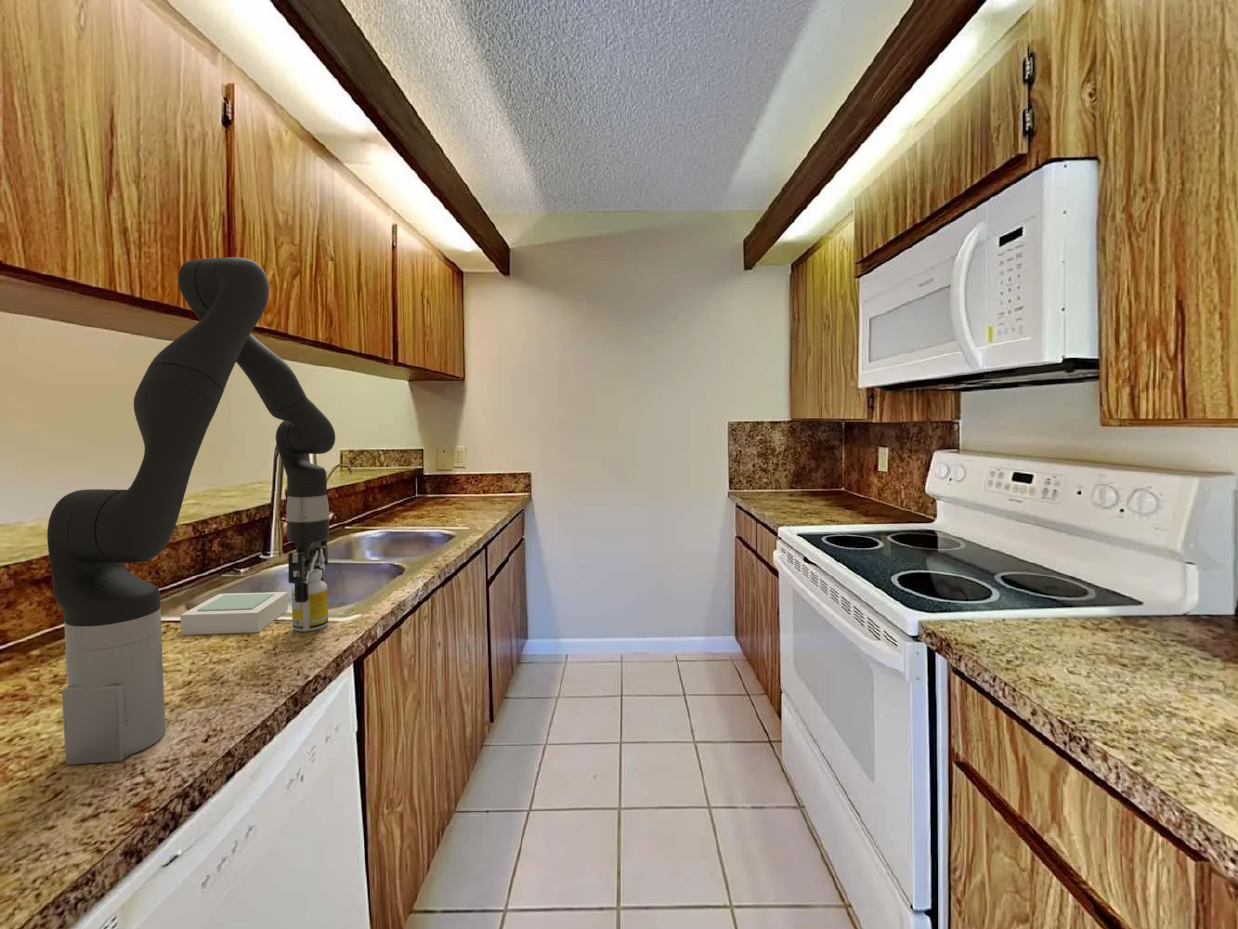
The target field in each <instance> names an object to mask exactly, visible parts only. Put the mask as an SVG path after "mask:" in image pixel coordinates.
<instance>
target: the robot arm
mask: <svg viewBox="0 0 1238 929" xmlns="http://www.w3.org/2000/svg"><path fill="white" fill-rule="evenodd" d="M178 270H179V271H178V275H177V278H178V279H177V280H178V281H177V282H178V285H179V290H180V293H181V295H182V297H183V299H184V301H185V302H186V303H187V305H188V307H189V308H190V309H191V311H192V312H193V313H194V314H195V316H196V317H197V318H198V319H199V321H198V322H197V323H196V324H195V325H193V326H192V327H191V328H189V329H188V330H187V331H186V332H184V333H183V334H181V335H180V336H178V337H177V338H176V339H175V340H173V341H172V342H170V343H169V344H168V345H166V346H165V347H164V348H163V349H162V350H160V352H159V353H158V354H157V355H156V356H155V357H154V358H153V359H152V361H151V362H150V364H149V366H148V367H147V370H146V371H145V373H144V375H143V377H142V379H141V381H140V383H139V385H138V387H137V389H136V392H135V394H134V398H133V411H134V414H135V415H134V416H135V420H136V423H137V426H138V429H139V432H140V435H141V438H142V441H143V444H144V445H143V446H144V454H143V457H142V461H141V464H140V467H139V468H138V472H137V474H136V476H135V478H134V479H133V481H132V484H131V485H130V486H129V487H128V489H110V488H109V489H102V488H101V489H99V488H98V489H94V488H93V489H91V488H90V489H80V490H74V491H72V492H70V493H68V494H66V495H63V497H61V498H60V499H59V500H58V501H57V502H56V504H55V506H54V507H53V508H52V511H51V513H50V515H49V519H48V522H47V523H48V524H47V532H46V533H47V534H46V535H47V536H46V537H47V538H46V541H47V550H48V558H49V565H50V574H51V582H52V588H53V589H52V590H53V595H54V598H55V600H56V602H57V604H58V606H59V607H60V608H61V609H62V612H63V622H64V623H63V625H64V645H65V646H64V647H65V666H66V667H65V668H66V684H67V685H66V687H64V689H62V692H61V701H62V718H63V722H62V723H63V734H64V735H63V736H64V737H63V738H64V757H65V758H64V759H65V765H66V766H67V765H68V766H69V765H80V764H81V765H82V764H97V763H111V762H114V763H115V762H122V761H123V760H125V759H126V758H128V757H129V756H131V755H134V754H136V753H138V752H140V751H143V750H145V749H148V748H149V747H150V746H151V747H152V745H154V744H155V743H157V742H158V741H159V740H161V739H162V738H163V736H164V735H165V734H166V712H165V711H166V710H165V709H166V708H165V689H164V688H165V687H164V686H165V684H164V668H163V667H164V663H163V644H162V643H163V642H162V641H163V637H162V611H161V609H162V608H161V591H160V590H159V588H158V586H157V585H156V584H154V583H151V582H149V581H147V580H144V579H142V578H140V577H138V576H136V575H134V574H133V573H132V572H130V570H128V569H127V568H126V566H125V565H124V564H125V563H126V564H127V563H129V564H130V563H131V564H132V563H133V564H134V563H144V562H148V561H152V560H153V559H154V558H156V557H157V556H158V555H160V554H161V553H162V552H163V551H164V549H165V548H166V546H167V545H168V544H169V542H170V540H171V537H172V536H173V534H174V531H175V528H176V526H177V524H178V523H177V522H178V519H179V517H180V513H181V509H182V506H183V502H184V499H185V495H186V491H187V487H188V484H189V480H190V476H191V473H192V469H193V466H194V464H195V461H196V458H197V456H198V455H199V450H200V449H201V446H202V443H203V440H204V437H205V435H206V433H207V431H208V428H209V426H210V424H211V422H212V419H213V417H214V416H215V414H216V411H217V408H218V407H219V404H220V401H221V399H222V397H223V394H224V392H225V389H226V386H227V383H228V380H229V378H230V376H231V373H232V371H233V370H234V367H235V366H236V364H237V365H238V366H239V367H240V369H241V370H242V372H244V374H245V375H246V376H247V378H248V380H249V381H250V383H251V385H252V386H253V387H254V389H255V391H256V392H257V394H258V396H259V397H260V399H261V400H262V403H263V404H264V406H265V408H266V409H267V411H268V412H269V414H270V415H271V416H272V417H273V418H275V419H278V420H281V421H282V422H280V424H278V425H279V426H278V427H277V430H276V431H275V432H276V433H275V443H276V447H277V451H278V454H279V456H280V457H279V458H280V459H281V463H282V467H283V468H284V471H285V474H286V480H287V481H286V486H287V487H286V489H287V492H286V493H287V501H286V534H287V535H286V536H287V541H288V542H289V543H291V544H295V545H296V548H295V552H292V551H291V552H289V553H288V555H287V559H288V576H287V577H288V583H289V584H293V585H295V601H296V602H306V601H307V600H308V579H309V574H310V573H312V572H313V569H320V570H322V578H321V581H323V582H325V579H324V578H325V577H324V576H325V575H324V571H325V570H326V567H327V566H328V565H329V556H328V555H329V553H328V552H329V551H328V539H329V538H330V515H329V514H330V511H329V510H330V509H329V508H330V507H329V499H328V488H327V487H328V486H327V483H328V482H327V480H328V479H327V478H328V477H327V471H326V469H325V468H324V467H322V466H320V465H316V464H313V463H311V462H310V460H309V459H308V454H309V455H310V454H311V455H322V454H326V453H328V452H330V451H331V450H332V449H333V447H334V445H335V443H336V433H335V432H336V431H335V429H334V427H333V424H332V423H331V422H330V420H329V419H328V417H327V416H326V415H325V414H324V413H323V412H322V411H321V410H320V409H319V408H318V407H317V406H316V405H315V404H314V403H313V401H311V400H310V399H309V398H308V397H307V395H306V393H305V391H304V389H303V387H302V386H301V384H300V382H299V380H298V378H297V376H296V374H295V372H294V371H293V370H292V368H291V367H290V366H289V365H288V364H287V362H285V361H284V359H282V358H281V357H280V356H279V355H277V354H276V353H275V352H273V351H272V349H270V348H268V347H267V346H266V345H265V344H264V343H262V342H261V341H260V340H258V339H257V338H256V337H255V336H254V335H253V334H252V331H254V329H255V327H256V325H257V324H258V322H259V320H260V319H261V317H262V315H264V314H263V313H264V312H265V309H266V307H267V305H268V300H269V296H270V284H269V280H268V276H267V275H266V272H265V271H264V269H263V267H261V265H260V264H259V263H257V262H255V261H254V260H252V259H248V258H245V257H238V256H232V257H231V256H230V257H229V256H227V257H211V258H209V257H208V258H207V257H206V258H197V259H190V260H188V261H186V262H184V263H183V264H182V265H181V266H180V268H179V269H178ZM304 573H305V575H304Z"/></svg>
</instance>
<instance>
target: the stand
mask: <svg viewBox="0 0 1238 929" xmlns="http://www.w3.org/2000/svg"><path fill="white" fill-rule="evenodd" d="M288 610H289V591H276V592H274V591H273V592H272V591H270V592H237V593H236V592H235V593H231V592H230V593H218V594H217V595H215V596H212V597H210V598H209V599H207V600H205V601H203V602H202V603H200V604H197V605H196V606H194V607H192V608H190V609H189V610H187V611H184V613H183V612H182V614H180V620H179V621H180V635H181V636H191V635H192V636H193V635H217V634H238V633H239V634H242V633H243V634H247V633H259V632H261V631H262V630H264V629H265V628H266V627H267V626H268V625H270V624H271V623H273V622H274V621H275V620H277V619H278V618H279V617H280V616H282V615H283V614H284V613H286V612H287V611H288Z"/></svg>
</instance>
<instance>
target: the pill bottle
mask: <svg viewBox="0 0 1238 929" xmlns="http://www.w3.org/2000/svg"><path fill="white" fill-rule="evenodd" d="M304 575H305V573H304ZM321 578H322V570H320V569H313V572H312V573H310V574H309V579H308V600H307V601H306V602H296V601H295V584H293V586H292V588H291V613H292V614H291V618H292V628H293V630H295V631H296V632H313V631H318V630H320V629H323V628H325V627H326V626H327V625H328V624H329V605H328V604H329V599H328V598H329V597H328V596H329V595H328V584H327V583H326V582H325V581H324V582H323V581H321Z"/></svg>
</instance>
